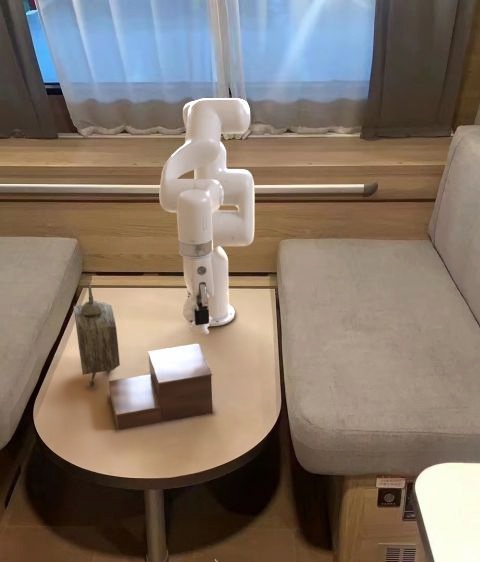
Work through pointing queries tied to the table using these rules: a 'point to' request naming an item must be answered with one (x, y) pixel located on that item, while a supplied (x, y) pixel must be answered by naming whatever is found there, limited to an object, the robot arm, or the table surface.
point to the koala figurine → (190, 315)
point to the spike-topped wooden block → (96, 337)
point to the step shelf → (164, 389)
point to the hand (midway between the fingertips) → (198, 316)
